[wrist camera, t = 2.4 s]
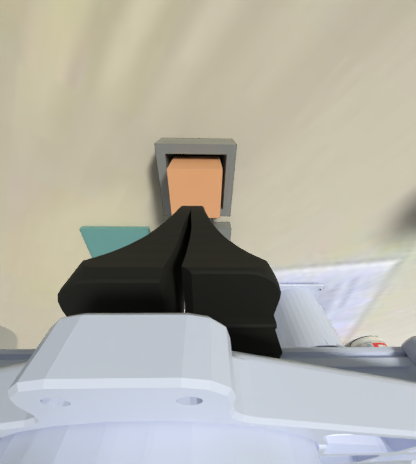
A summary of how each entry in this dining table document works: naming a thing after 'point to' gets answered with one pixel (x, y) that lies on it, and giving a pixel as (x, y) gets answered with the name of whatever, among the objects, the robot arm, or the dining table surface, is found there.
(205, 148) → the housing
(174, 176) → the orange cube
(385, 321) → the dining table surface
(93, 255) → the mat
